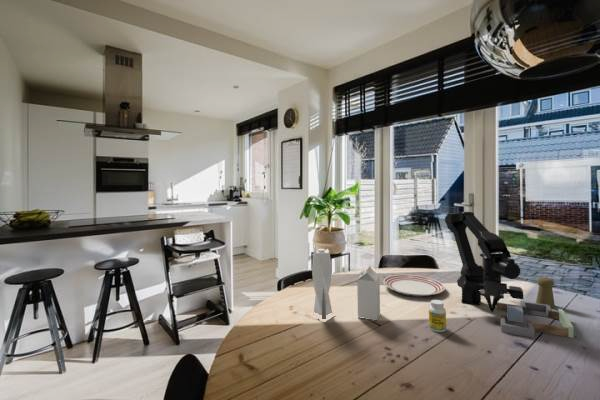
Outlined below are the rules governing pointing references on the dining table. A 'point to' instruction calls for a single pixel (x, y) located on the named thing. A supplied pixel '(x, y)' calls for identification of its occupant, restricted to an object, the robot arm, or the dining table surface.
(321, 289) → the skyscraper
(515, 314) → the slate block
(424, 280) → the dinner plate
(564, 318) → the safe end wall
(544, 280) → the cork
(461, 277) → the robot arm
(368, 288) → the milk carton
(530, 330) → the trap pockets
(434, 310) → the supplement bottle
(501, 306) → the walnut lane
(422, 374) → the dining table surface
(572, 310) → the dining table surface
